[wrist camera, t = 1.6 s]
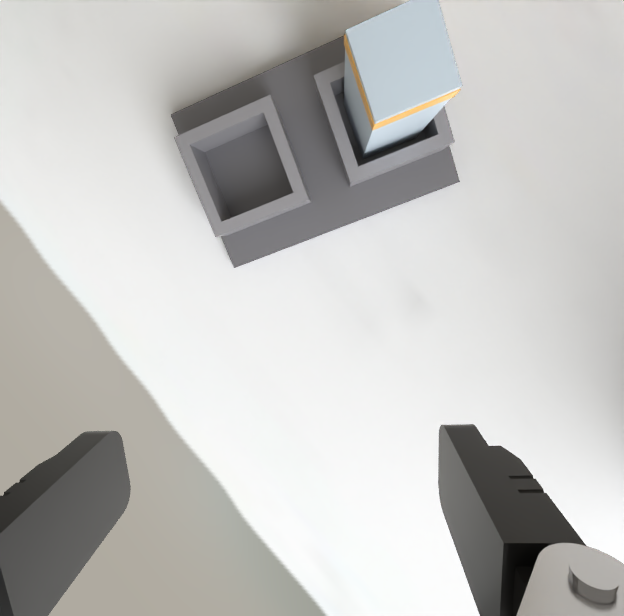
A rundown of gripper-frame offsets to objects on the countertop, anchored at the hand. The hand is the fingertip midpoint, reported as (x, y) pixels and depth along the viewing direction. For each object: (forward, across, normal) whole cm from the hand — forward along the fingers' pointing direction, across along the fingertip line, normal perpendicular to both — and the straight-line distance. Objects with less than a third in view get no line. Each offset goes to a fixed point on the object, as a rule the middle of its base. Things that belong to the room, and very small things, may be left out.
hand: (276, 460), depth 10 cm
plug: (+22, -5, -12) cm, 26 cm away
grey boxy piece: (+23, 0, -11) cm, 25 cm away
